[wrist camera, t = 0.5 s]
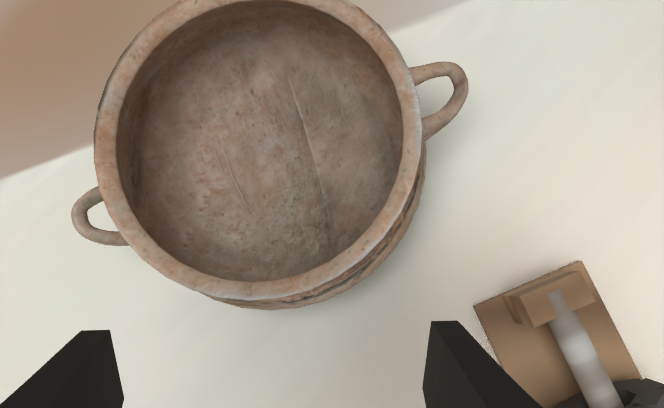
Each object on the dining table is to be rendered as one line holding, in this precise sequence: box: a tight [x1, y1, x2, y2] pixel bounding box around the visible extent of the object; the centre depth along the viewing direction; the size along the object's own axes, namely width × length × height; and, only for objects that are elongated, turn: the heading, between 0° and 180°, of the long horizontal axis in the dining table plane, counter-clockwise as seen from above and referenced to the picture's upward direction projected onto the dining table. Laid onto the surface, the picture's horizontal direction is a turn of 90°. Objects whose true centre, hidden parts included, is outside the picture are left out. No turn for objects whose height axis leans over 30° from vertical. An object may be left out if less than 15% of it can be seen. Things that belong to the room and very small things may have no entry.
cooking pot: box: [71, 0, 468, 310], centre depth 33 cm, size 25×19×12 cm
